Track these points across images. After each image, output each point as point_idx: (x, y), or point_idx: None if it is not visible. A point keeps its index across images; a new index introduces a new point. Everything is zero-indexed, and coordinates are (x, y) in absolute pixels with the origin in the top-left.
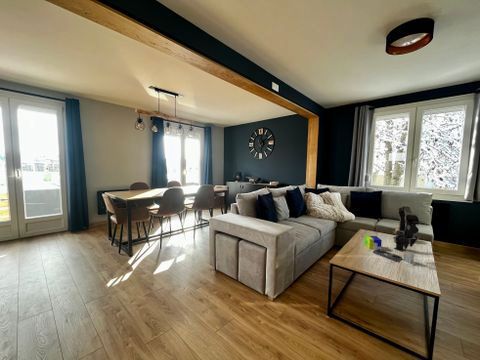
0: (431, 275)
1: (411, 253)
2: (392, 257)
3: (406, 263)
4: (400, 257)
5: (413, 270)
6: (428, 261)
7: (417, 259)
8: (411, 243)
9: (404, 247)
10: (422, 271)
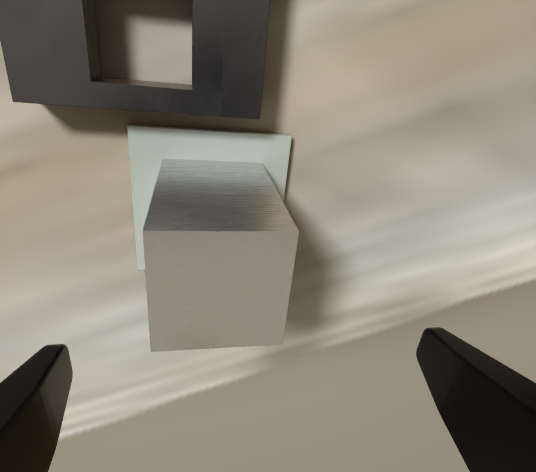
0: (102, 419)
1: (227, 327)
2: (36, 7)
3: (134, 213)
4: (208, 107)
5: (18, 321)
6: (459, 294)
7: (432, 222)
8: (490, 441)
9: (13, 375)
10: (108, 363)
